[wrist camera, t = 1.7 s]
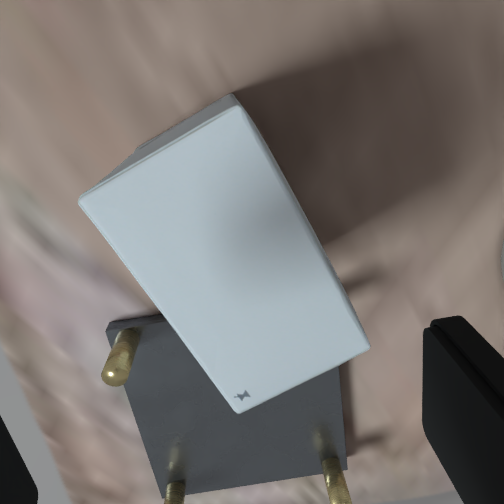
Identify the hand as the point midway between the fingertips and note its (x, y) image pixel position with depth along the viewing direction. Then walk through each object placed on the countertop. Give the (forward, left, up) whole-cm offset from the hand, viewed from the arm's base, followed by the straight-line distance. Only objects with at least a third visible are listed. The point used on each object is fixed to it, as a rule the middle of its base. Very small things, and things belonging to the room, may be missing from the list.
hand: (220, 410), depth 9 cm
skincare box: (0, 0, -17) cm, 17 cm away
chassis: (+2, +14, -16) cm, 22 cm away
